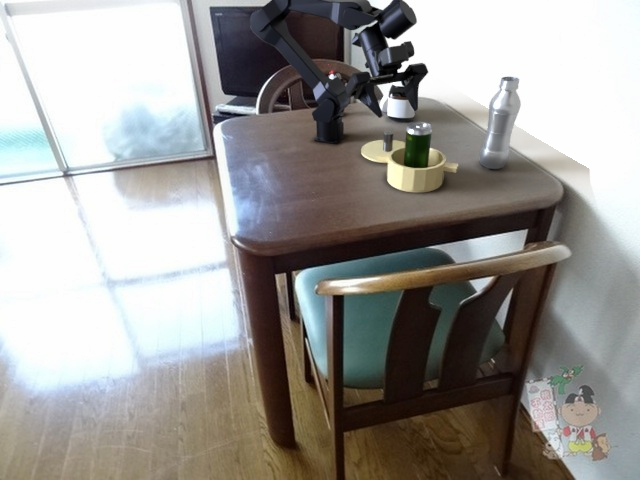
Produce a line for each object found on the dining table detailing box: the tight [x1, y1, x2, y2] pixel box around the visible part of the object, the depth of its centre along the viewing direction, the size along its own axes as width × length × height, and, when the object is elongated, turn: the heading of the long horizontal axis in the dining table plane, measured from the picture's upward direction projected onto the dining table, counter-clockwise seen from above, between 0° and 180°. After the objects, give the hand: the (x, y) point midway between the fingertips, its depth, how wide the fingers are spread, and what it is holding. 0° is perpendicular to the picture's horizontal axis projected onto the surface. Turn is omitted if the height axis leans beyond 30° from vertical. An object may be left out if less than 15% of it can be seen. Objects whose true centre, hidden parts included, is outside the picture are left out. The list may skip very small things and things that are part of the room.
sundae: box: [327, 63, 348, 117], centre depth 131 cm, size 7×7×15 cm
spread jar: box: [379, 81, 417, 123], centre depth 129 cm, size 12×11×12 cm
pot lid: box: [360, 130, 405, 164], centre depth 108 cm, size 13×13×6 cm
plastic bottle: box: [478, 76, 522, 170], centre depth 96 cm, size 6×7×20 cm
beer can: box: [403, 121, 433, 168], centre depth 95 cm, size 5×5×12 cm
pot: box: [376, 146, 459, 194], centre depth 97 cm, size 12×18×6 cm
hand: (398, 113), depth 98 cm, fingers open, 9 cm apart
